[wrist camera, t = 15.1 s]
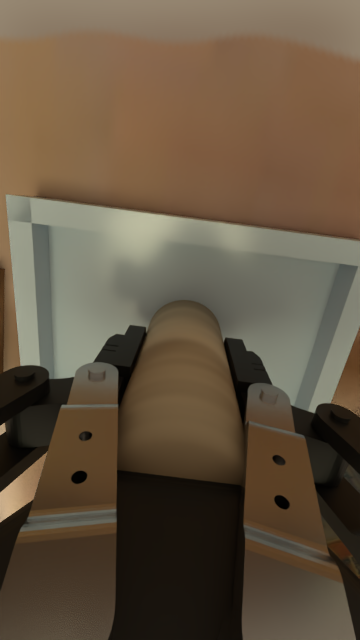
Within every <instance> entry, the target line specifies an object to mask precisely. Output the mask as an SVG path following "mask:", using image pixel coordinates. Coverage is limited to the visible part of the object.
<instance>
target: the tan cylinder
mask: <svg viewBox="0 0 360 640" xmlns="http://www.w3.org/2000/svg"><path fill="white" fill-rule="evenodd" d="M117 470H123V471H131V472H139V473H147V474H155V475H163V476H171V477H179V478H187V479H195V480H203V481H211V482H219V483H227V484H235V485H241V481H242V475H243V471H244V429H243V423H242V419H241V415H240V410H239V406H238V402H237V398H236V393H235V389H234V385H233V381H232V376H231V372H230V368H229V364H228V359H227V355H226V351H225V347H224V342H223V338H222V334H221V330H220V326H219V322H218V320H217V318H216V317H215V315H214V314H213V313H212V311H211V310H209V309H208V308H207V307H206V306H204V305H202V304H200V303H198V302H195V301H190V300H178V301H173V302H170V303H168V304H166V305H164V306H163V307H161V308H160V309H159V310H158V311H157V312H156V313H155V314H154V316H153V317H152V319H151V321H150V324H149V327H148V329H147V332H146V335H145V338H144V341H143V344H142V347H141V349H140V352H139V355H138V358H137V360H136V363H135V366H134V369H133V372H132V374H131V377H130V380H129V382H128V385H127V387H126V390H125V393H124V396H123V398H122V401H121V404H120V407H119V410H118V445H117Z"/></svg>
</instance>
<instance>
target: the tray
mask: <svg viewBox="0 0 360 640" xmlns="http://www.w3.org/2000/svg"><path fill="white" fill-rule="evenodd" d="M6 204H7V215H8V226H9V238H10V249H11V261H12V272H13V284H14V295H15V306H16V318H17V329H18V341H19V352H20V363H21V366H24V365H37V366H41V367H44V368H46V369H47V370H48V371H49V379H61V378H70V377H74V376H75V373H76V370H77V369H78V368H79V367H81V366H83V365H85V364H88V363H93V362H94V360H95V358H96V357H97V355H98V354H99V352H100V351H101V350H102V347H103V346H104V345H105V343H106V341H107V340H108V338H110V337H111V336H113V335H115V334H122V335H125V333H126V331H127V329H128V327H129V325H136V326H143V327H146V332H147V329H148V327H149V324H150V321H151V319H152V317H153V316H154V314H155V313H156V312H157V311H158V310H159V309H160V308H161V307H163V306H164V305H166V304H168V303H170V302H173V301H178V300H190V301H195V302H198V303H200V304H202V305H204V306H206V307H207V308H208V309H209V310H211V311H212V313H213V314H214V315H215V317H216V318H217V320H218V322H219V326H220V330H221V334H222V338H223V342H224V340H225V338H226V337H228V338H235V339H242V340H243V342H244V345H245V347H246V350H247V351H253V352H254V353H255V354H257V355H258V356H259V357H260V358H261V360H262V362H263V366H264V367H265V369H266V371H267V373H268V376H269V378H270V380H271V382H272V384H273V386H276V387H278V388H280V389H281V390H283V391H284V392H285V393H286V394H287V395H288V396H289V398H290V403H291V405H292V406H295V407H297V408H300V409H303V410H306V411H309V412H312V413H315V410H316V408H317V406H318V405H319V404H322V403H331V401H332V398H333V395H334V393H335V390H336V387H337V385H338V382H339V379H340V377H341V374H342V372H343V369H344V366H345V364H346V361H347V358H348V356H349V353H350V350H351V348H352V345H353V343H354V340H355V337H356V335H357V332H358V329H359V327H360V240H359V239H352V238H345V237H337V236H330V235H322V234H315V233H307V232H300V231H292V230H285V229H277V228H270V227H262V226H255V225H247V224H240V223H232V222H225V221H217V220H210V219H202V218H194V217H187V216H179V215H172V214H164V213H157V212H149V211H142V210H134V209H127V208H119V207H112V206H104V205H97V204H89V203H82V202H74V201H67V200H59V199H52V198H44V197H37V196H23V195H8V194H6Z"/></svg>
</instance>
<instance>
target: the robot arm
mask: <svg viewBox="0 0 360 640" xmlns="http://www.w3.org/2000/svg"><path fill="white" fill-rule="evenodd" d="M145 335H146V327H143V326H136V325H129V327H128V329H127V331H126V333H125V335H122V334H115V335H113V336H111V337H110V338H108V340H107V341H106V343H105V345H104V346H103V347H102V350H101V351H100V352H99V354H98V355H97V357H96V358H95V360H94V362H93V363H88V364H85V365H83V366H81V367H79V368H78V369H77V370H76V373H75V376H74V377H70V378H61V379H49V371H48V370H47V369H46V368H44V367H41V366H37V365H24V366H19V367H15V368H12V369H10V370H8V371H5V372H3V373H1V374H0V425H2V424H3V423H5V427H6V432H5V433H3V434H2V435H0V492H1V491H2V490H3V489H5V488H6V487H7V486H8V485H9V484H10V483H12V482H13V481H14V480H15V479H16V478H17V477H18V476H20V475H21V474H22V473H23V472H24V471H25V470H27V469H28V468H29V467H30V466H31V465H32V464H33V463H35V462H36V461H37V460H38V459H39V458H40V457H42V456H43V455H44V454H45V453H46V452H47V451H48V452H47V455H46V459H45V462H44V466H43V469H42V472H41V476H40V479H39V483H38V486H37V489H36V493H35V496H34V500H32V501H31V502H29V503H28V504H26V505H25V506H24V507H22V508H21V509H19V510H18V511H16V512H15V513H13V514H12V515H10V516H9V517H8V518H6V519H5V520H3V521H2V522H0V640H360V579H359V578H358V577H357V576H356V575H355V574H354V573H353V572H352V571H351V570H350V569H349V568H348V567H347V566H346V565H345V564H344V563H343V562H342V561H341V560H340V558H339V557H338V556H337V555H336V554H335V553H334V552H333V551H332V550H331V549H330V548H329V547H328V546H327V544H326V539H325V534H324V529H323V524H322V519H321V515H322V517H323V518H324V519H325V521H326V522H327V523H328V524H329V526H330V527H331V528H332V530H333V531H334V532H335V533H336V535H337V536H338V537H339V539H340V540H341V541H342V543H343V544H344V545H345V546H346V548H347V549H348V550H349V552H350V553H351V554H352V556H353V557H354V558H355V559H356V561H357V562H358V563H359V565H360V493H359V492H358V491H357V490H356V489H355V488H354V487H353V486H352V485H351V484H350V483H349V482H348V481H347V480H346V479H345V478H344V477H343V476H344V474H345V471H346V469H347V467H348V465H350V466H351V467H352V468H353V469H354V470H355V471H356V472H358V473H359V474H360V417H358V416H357V415H356V414H354V413H353V412H351V411H350V410H348V409H346V408H344V407H341V406H339V405H335V404H330V403H322V404H319V405H318V406H317V408H316V410H315V413H312V412H309V411H306V410H303V409H300V408H297V407H295V406H292V405H291V403H290V398H289V396H288V395H287V394H286V393H285V392H284V391H283V390H281V389H280V388H278V387H276V386H273V384H272V382H271V380H270V378H269V376H268V373H267V371H266V369H265V367H264V366H263V362H262V360H261V358H260V357H259V356H258V355H257V354H255V353H254V352H253V351H247V350H246V347H245V345H244V342H243V340H242V339H235V338H228V337H226V338H225V340H224V347H225V351H226V355H227V359H228V364H229V368H230V372H231V376H232V381H233V385H234V389H235V393H236V398H237V402H238V406H239V410H240V415H241V419H242V423H243V429H244V471H243V475H242V481H241V485H235V484H227V483H219V482H211V481H203V480H195V479H187V478H179V477H171V476H163V475H155V474H147V473H139V472H131V471H123V470H117V445H118V410H119V407H120V404H121V401H122V398H123V396H124V393H125V390H126V387H127V385H128V382H129V380H130V377H131V374H132V372H133V369H134V366H135V363H136V360H137V358H138V355H139V352H140V349H141V347H142V344H143V341H144V338H145Z"/></svg>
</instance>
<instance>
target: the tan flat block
mask: <svg viewBox="0 0 360 640" xmlns="http://www.w3.org/2000/svg"><path fill="white" fill-rule="evenodd" d="M4 271H5V269H1V268H0V374H1V373H3V349H4Z"/></svg>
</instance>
